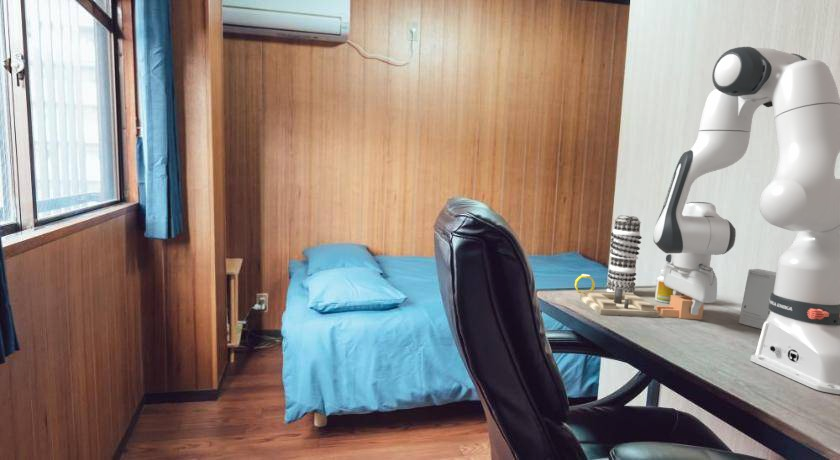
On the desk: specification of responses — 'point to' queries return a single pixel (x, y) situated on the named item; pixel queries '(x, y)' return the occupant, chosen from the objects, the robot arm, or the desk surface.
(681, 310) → the orange stepped block
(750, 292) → the skincare box
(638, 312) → the index plate
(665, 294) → the supplement bottle
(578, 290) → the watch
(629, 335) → the desk surface
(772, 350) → the robot arm
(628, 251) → the decorative candle
